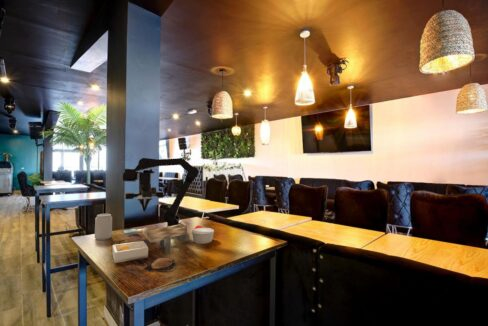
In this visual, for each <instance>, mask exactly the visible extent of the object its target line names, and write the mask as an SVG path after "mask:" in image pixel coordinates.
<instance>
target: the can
mask: <svg viewBox="0 0 488 326" xmlns="http://www.w3.org/2000/svg"><path fill="white" fill-rule="evenodd" d="M94 221H95V222H94V223H95V224H94V239H95V240H97V241H104V240H105V241H106V240H109V239H110V238H111V237H112V235H113V234H112V233H113V216H112V214H110V213H99V214H97V215H96V217H95V219H94Z"/></svg>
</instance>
